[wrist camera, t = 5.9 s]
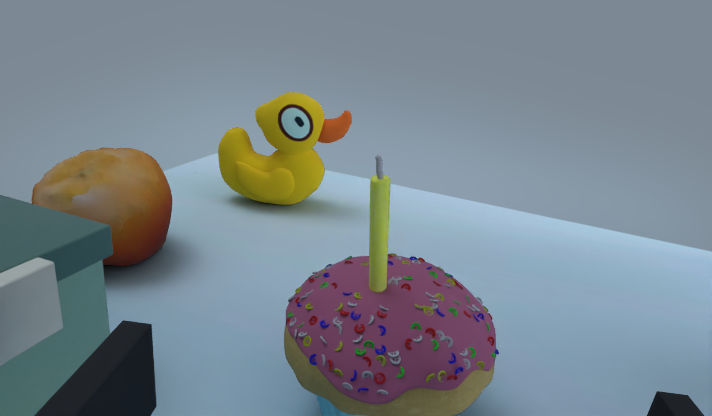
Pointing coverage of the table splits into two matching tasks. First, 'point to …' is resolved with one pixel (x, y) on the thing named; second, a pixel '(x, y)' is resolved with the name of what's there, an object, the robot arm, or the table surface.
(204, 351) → the table surface
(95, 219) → the fruit
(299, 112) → the duckling
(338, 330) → the cupcake
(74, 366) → the lunchbox
